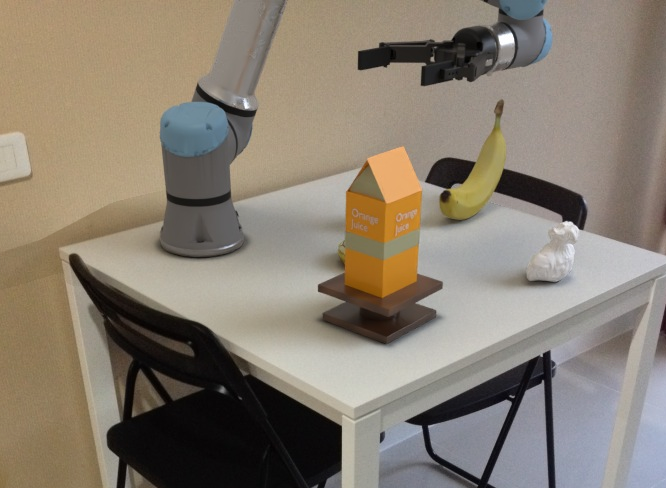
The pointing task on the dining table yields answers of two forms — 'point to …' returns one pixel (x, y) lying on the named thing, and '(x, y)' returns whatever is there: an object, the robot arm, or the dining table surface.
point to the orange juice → (383, 225)
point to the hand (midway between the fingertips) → (390, 68)
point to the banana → (478, 176)
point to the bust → (555, 254)
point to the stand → (380, 308)
